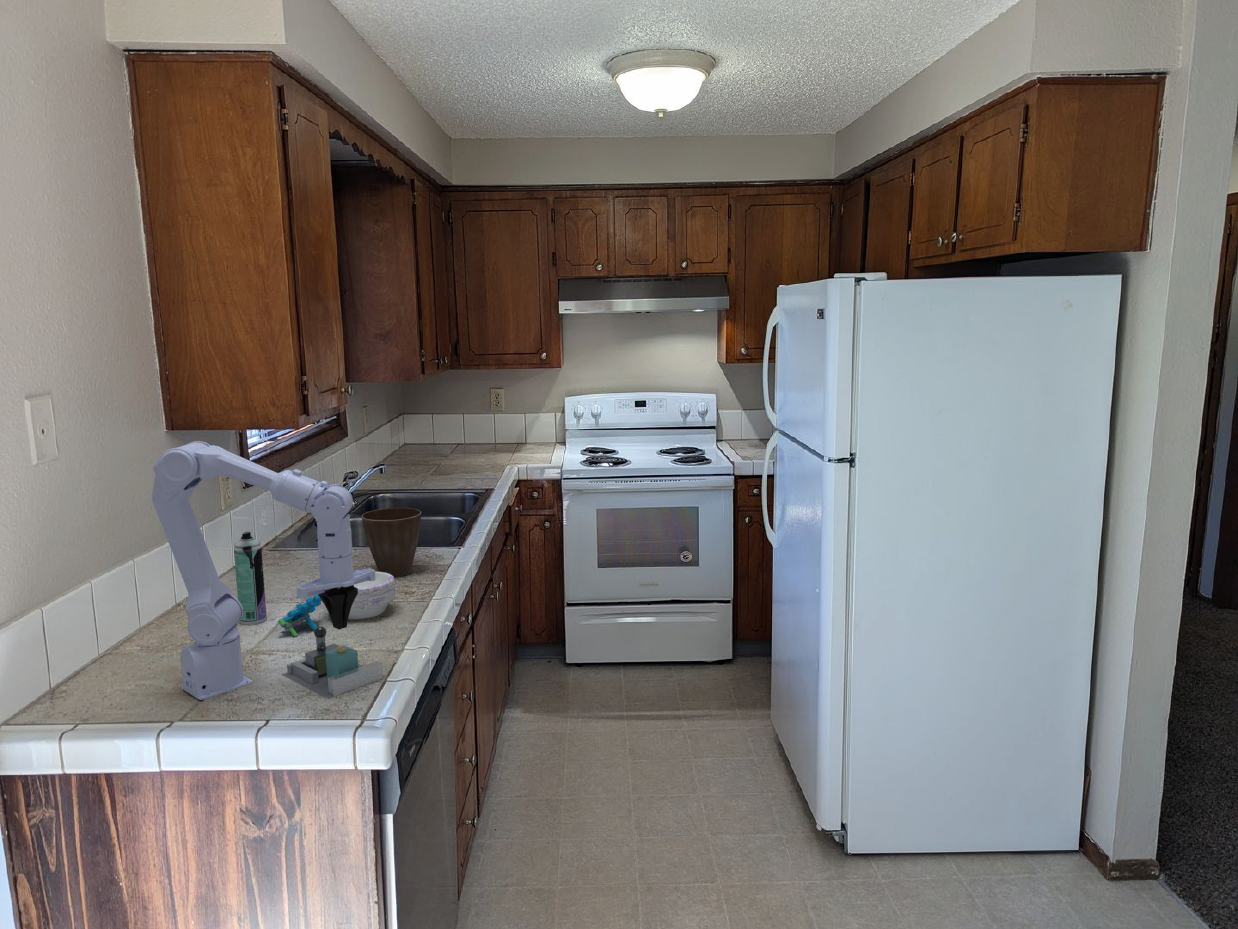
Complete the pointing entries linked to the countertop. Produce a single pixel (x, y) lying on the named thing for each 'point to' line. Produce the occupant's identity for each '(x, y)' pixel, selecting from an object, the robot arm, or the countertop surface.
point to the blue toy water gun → (300, 615)
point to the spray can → (250, 579)
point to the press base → (334, 678)
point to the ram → (319, 652)
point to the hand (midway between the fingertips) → (340, 627)
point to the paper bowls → (373, 596)
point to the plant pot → (392, 538)
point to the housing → (341, 660)
